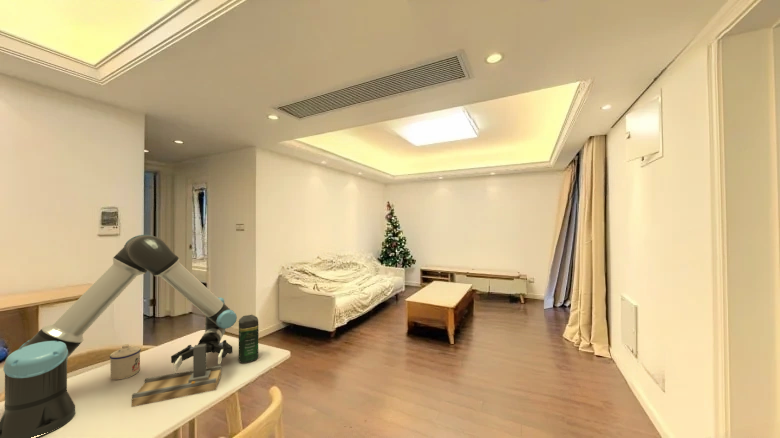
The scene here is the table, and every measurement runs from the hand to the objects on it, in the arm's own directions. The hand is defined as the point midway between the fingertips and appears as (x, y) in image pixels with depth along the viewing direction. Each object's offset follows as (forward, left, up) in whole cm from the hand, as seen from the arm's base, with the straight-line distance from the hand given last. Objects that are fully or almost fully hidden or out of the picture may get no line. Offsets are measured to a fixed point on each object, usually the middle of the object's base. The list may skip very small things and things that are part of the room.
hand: (197, 364), depth 102 cm
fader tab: (0, +3, -7) cm, 7 cm away
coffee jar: (+15, +19, -10) cm, 26 cm away
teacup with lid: (-30, +25, -10) cm, 40 cm away
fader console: (-6, +3, -9) cm, 12 cm away
